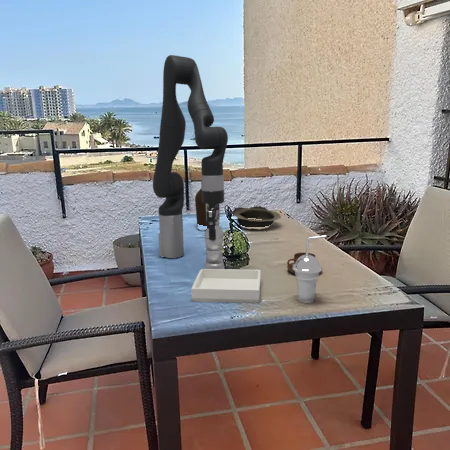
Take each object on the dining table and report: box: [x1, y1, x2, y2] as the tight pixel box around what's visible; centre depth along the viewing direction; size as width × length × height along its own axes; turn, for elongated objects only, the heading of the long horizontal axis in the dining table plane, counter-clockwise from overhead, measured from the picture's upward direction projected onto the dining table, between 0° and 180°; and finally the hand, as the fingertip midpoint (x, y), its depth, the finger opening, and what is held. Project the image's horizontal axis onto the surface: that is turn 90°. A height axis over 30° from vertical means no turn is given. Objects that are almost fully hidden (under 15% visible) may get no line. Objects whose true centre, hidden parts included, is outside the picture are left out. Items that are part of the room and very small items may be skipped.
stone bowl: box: [231, 205, 282, 227], centre depth 218 cm, size 25×25×9 cm
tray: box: [190, 268, 262, 304], centre depth 135 cm, size 20×18×4 cm
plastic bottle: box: [203, 217, 225, 269], centre depth 147 cm, size 6×7×20 cm
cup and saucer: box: [286, 252, 316, 275], centre depth 151 cm, size 12×12×6 cm
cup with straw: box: [292, 234, 327, 304], centre depth 125 cm, size 8×9×20 cm
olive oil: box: [194, 188, 209, 226], centre depth 214 cm, size 11×11×25 cm
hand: (213, 237), depth 146 cm, fingers closed on plastic bottle, 6 cm apart
